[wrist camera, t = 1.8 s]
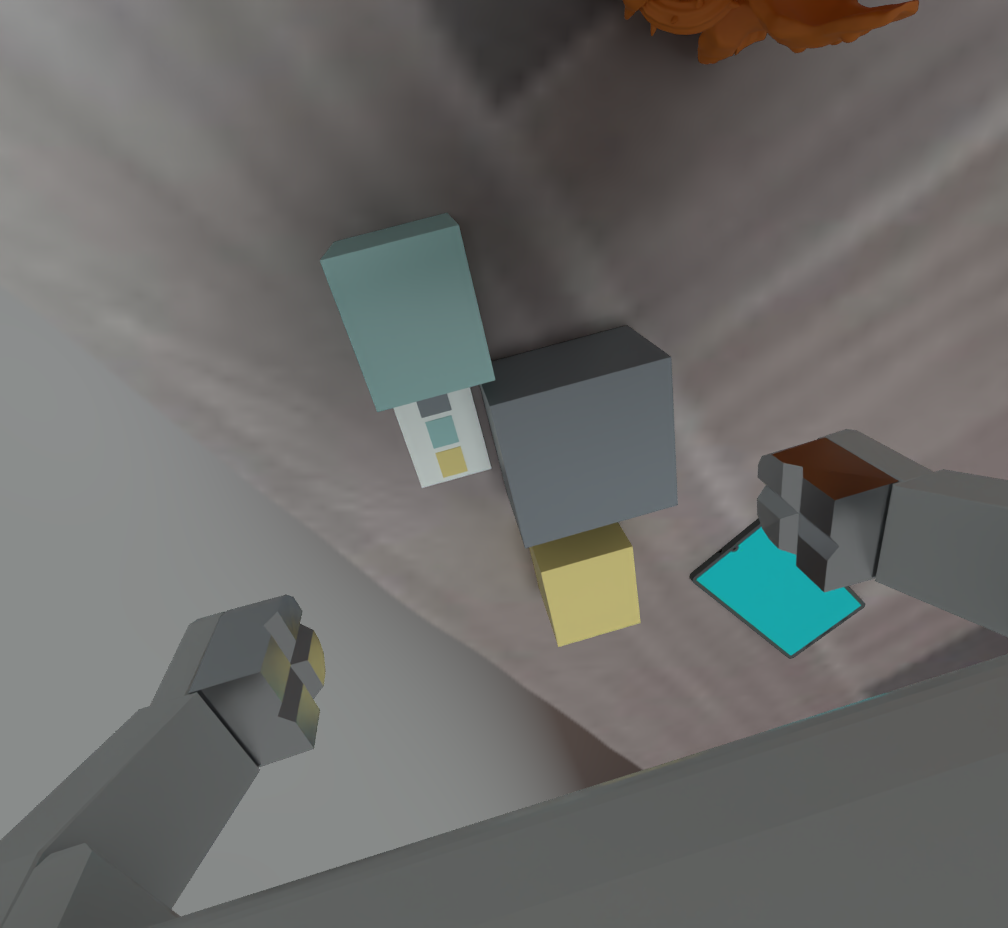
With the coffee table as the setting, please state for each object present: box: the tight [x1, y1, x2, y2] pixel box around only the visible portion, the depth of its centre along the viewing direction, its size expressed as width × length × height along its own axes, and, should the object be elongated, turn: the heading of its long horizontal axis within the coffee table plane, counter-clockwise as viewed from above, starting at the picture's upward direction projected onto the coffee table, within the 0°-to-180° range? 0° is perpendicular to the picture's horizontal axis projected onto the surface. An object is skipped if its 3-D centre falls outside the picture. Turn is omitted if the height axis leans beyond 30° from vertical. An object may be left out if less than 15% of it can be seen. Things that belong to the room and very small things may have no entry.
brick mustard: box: [529, 522, 640, 647], centre depth 31 cm, size 6×5×5 cm
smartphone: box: [690, 518, 865, 659], centre depth 39 cm, size 7×1×15 cm
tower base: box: [480, 325, 678, 548], centre depth 26 cm, size 8×8×5 cm
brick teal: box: [320, 213, 495, 412], centre depth 22 cm, size 6×5×5 cm
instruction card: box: [393, 387, 492, 488], centre depth 28 cm, size 6×4×1 cm, turn 12°
